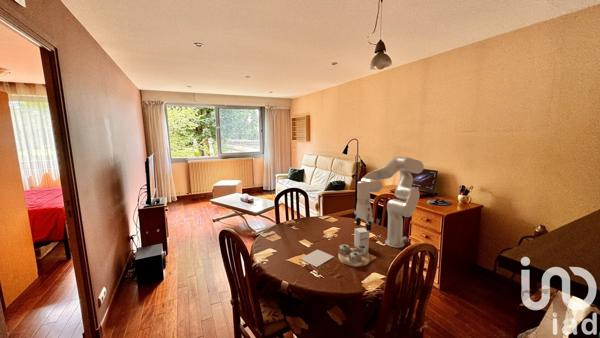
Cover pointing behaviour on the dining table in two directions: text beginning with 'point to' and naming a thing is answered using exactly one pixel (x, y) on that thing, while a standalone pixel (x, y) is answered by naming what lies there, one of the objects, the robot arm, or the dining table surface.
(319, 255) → the paper stack
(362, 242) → the supplement box
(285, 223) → the dining table surface
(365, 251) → the planet gear
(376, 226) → the dining table surface
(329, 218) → the dining table surface
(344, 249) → the carrier
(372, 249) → the dining table surface
